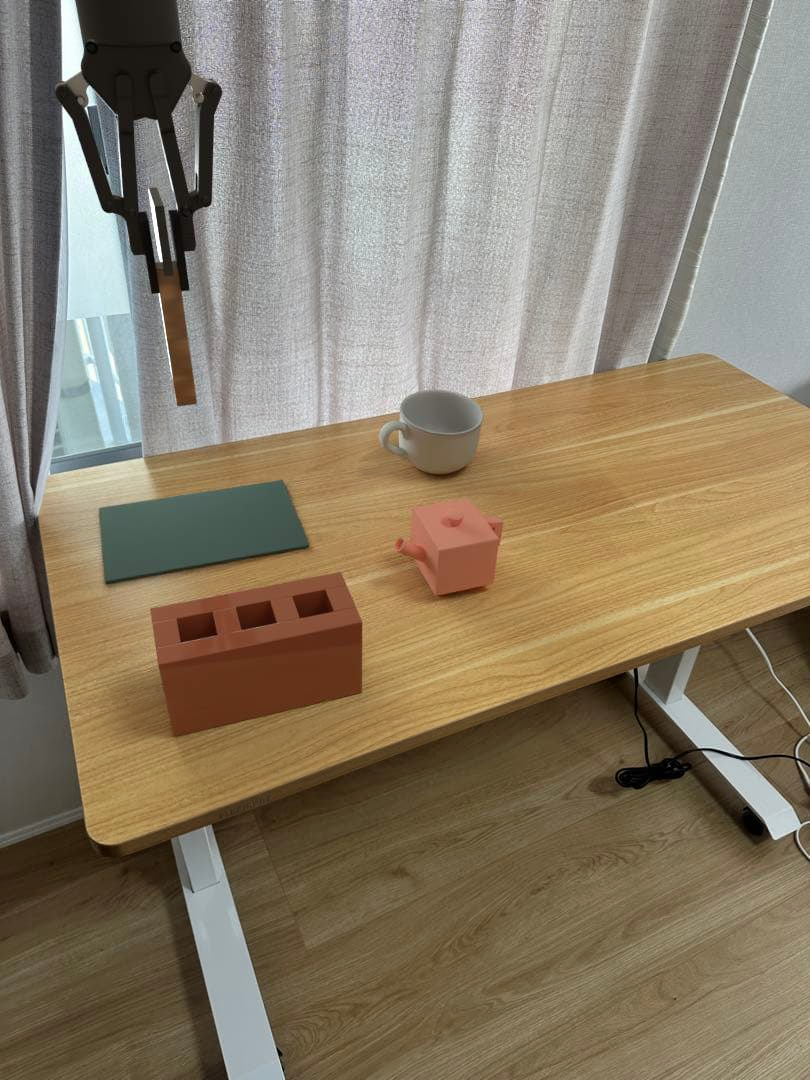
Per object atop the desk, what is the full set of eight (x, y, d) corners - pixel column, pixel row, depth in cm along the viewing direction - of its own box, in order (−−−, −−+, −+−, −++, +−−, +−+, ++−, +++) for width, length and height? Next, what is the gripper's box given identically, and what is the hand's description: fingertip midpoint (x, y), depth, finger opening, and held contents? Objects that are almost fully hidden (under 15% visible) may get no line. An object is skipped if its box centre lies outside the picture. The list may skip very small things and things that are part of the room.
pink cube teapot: (381, 564, 89) (383, 503, 84) (480, 544, 93) (487, 484, 88) (405, 609, 84) (408, 547, 79) (509, 587, 87) (519, 525, 82)
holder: (362, 692, 74) (362, 621, 69) (173, 737, 70) (158, 664, 64) (341, 641, 80) (340, 571, 74) (165, 679, 75) (150, 607, 69)
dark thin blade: (179, 416, 80) (146, 206, 68) (172, 389, 85) (141, 188, 72) (199, 413, 81) (171, 205, 69) (192, 386, 85) (164, 186, 73)
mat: (105, 584, 85) (105, 581, 85) (99, 510, 95) (99, 507, 95) (309, 547, 91) (309, 545, 91) (282, 482, 102) (282, 479, 101)
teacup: (460, 437, 112) (465, 384, 107) (491, 478, 104) (497, 423, 99) (364, 450, 108) (364, 397, 103) (388, 494, 100) (389, 438, 95)
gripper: (216, -20, 66) (242, 267, 80) (18, -24, 62) (83, 280, 76) (231, -13, 60) (256, 294, 75) (15, -16, 56) (85, 309, 71)
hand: (169, 286), depth 75 cm, fingers closed on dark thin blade, 2 cm apart
